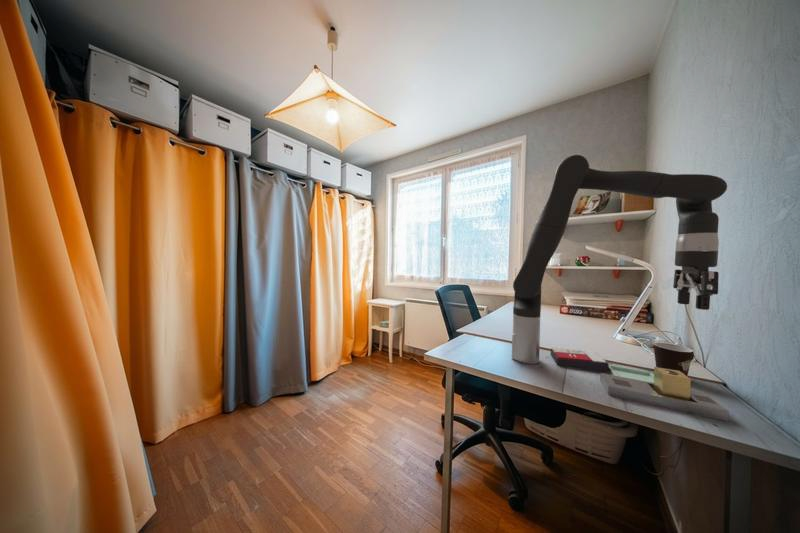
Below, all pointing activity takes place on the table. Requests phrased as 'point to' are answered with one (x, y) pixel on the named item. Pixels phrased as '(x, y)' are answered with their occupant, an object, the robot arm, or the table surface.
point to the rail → (662, 397)
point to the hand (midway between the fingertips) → (692, 306)
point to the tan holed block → (671, 383)
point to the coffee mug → (673, 357)
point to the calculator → (579, 359)
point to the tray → (631, 373)
